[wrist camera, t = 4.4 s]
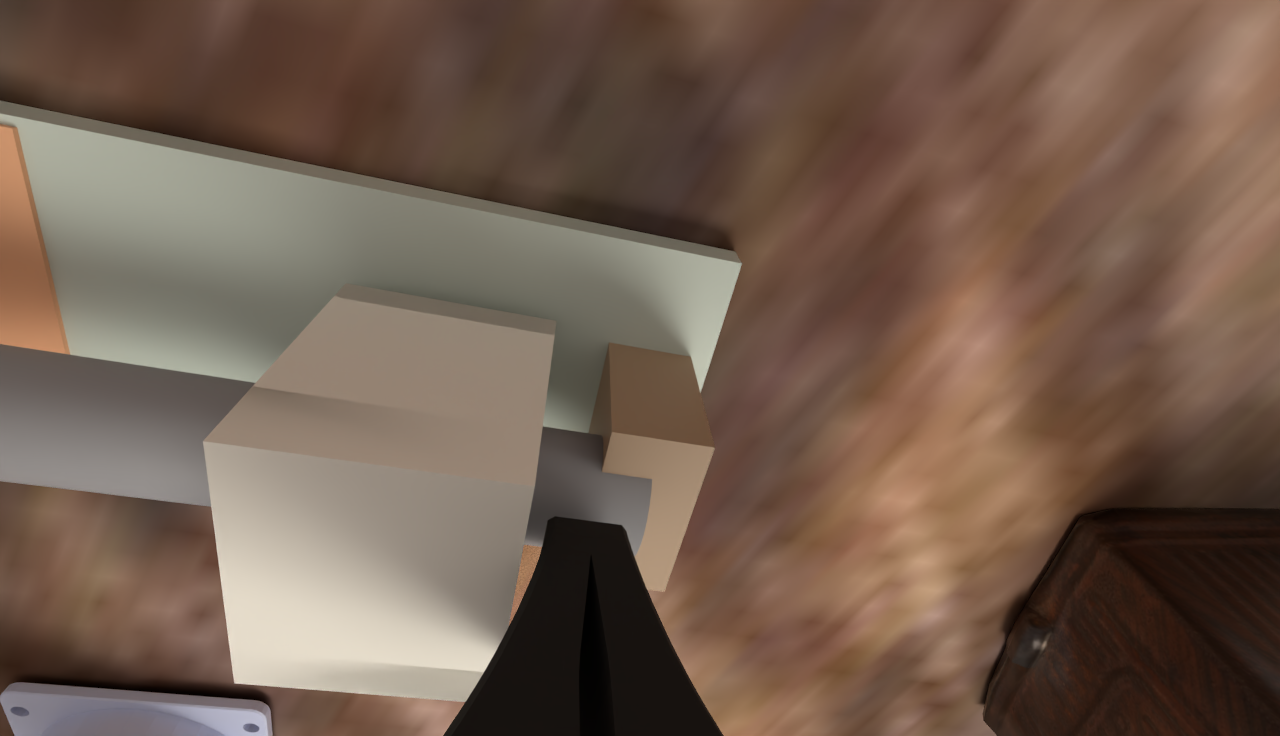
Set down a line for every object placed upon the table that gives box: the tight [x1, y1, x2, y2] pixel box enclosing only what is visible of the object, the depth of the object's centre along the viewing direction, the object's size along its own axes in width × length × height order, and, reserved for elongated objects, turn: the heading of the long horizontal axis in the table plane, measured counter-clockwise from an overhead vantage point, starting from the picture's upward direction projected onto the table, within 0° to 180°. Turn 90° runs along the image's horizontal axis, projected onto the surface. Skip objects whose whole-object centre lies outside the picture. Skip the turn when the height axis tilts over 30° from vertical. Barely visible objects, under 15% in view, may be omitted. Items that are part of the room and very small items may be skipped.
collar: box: [203, 283, 557, 702], centre depth 12 cm, size 4×5×6 cm
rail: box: [0, 101, 742, 592], centre depth 13 cm, size 22×9×5 cm, turn 77°
